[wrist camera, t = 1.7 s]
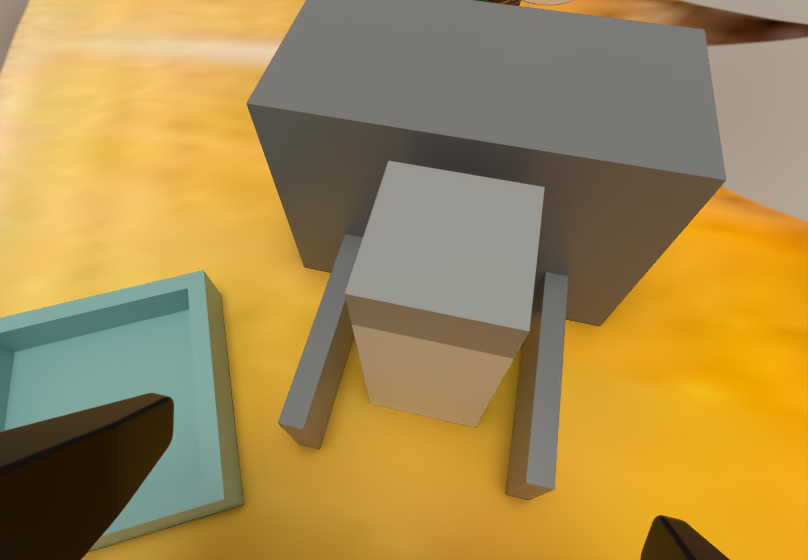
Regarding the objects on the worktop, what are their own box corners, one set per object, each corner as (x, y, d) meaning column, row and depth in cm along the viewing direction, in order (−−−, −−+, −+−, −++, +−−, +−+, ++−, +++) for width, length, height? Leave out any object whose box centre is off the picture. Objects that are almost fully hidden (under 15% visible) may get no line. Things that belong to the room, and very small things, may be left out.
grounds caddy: (475, 427, 22) (529, 331, 12) (370, 403, 22) (344, 293, 13) (489, 330, 24) (544, 187, 15) (394, 311, 25) (388, 160, 15)
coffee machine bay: (595, 516, 20) (769, 483, 10) (240, 429, 22) (112, 334, 12) (603, 206, 28) (704, 29, 19) (345, 162, 30) (317, -20, 20)
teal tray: (243, 504, 20) (224, 499, 18) (-26, 586, 19) (-82, 591, 17) (220, 294, 25) (203, 270, 23) (7, 346, 24) (-33, 325, 22)
